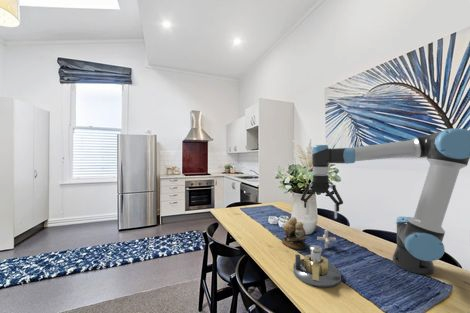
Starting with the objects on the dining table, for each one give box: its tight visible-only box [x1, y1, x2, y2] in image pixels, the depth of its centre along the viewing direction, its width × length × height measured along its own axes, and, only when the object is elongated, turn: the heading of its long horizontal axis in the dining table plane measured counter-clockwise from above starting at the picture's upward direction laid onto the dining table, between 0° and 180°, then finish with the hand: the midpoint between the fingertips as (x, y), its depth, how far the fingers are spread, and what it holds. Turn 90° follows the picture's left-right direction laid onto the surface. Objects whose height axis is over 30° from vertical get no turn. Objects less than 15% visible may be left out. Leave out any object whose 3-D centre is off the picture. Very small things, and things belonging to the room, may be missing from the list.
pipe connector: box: [316, 229, 337, 249], centre depth 120 cm, size 10×10×10 cm
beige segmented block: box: [303, 253, 329, 281], centre depth 93 cm, size 19×10×6 cm, turn 157°
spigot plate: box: [292, 244, 342, 289], centre depth 93 cm, size 20×20×12 cm
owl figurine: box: [281, 216, 308, 251], centre depth 124 cm, size 18×12×17 cm, turn 29°
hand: (321, 215), depth 106 cm, fingers open, 13 cm apart
